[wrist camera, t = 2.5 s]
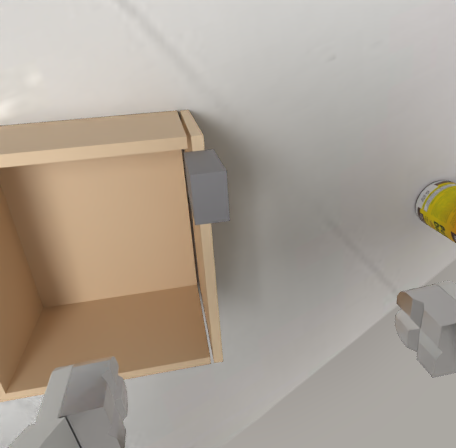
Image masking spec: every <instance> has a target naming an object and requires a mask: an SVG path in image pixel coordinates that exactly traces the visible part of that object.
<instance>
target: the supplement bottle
mask: <svg viewBox="0 0 456 448" xmlns="http://www.w3.org/2000/svg"><path fill="white" fill-rule="evenodd" d="M416 213H417V216H418V217H419V219H420V220H421V221H423V222H424V223H426V224H427V225H429V226H430V227H432V228H433V229H435V230H436V231H438V232H440V233H441V234H443V235H444V236H446V237H447V238H449V239H450V240H452V241H454V242H455V243H456V184H455V183H453V182H450V181H437V182H434V183H432V184H430V185H429V186H428V187H426V188H425V189H424V190H423V191H422V193H421V194H420V196H419V197H418V200H417V203H416Z"/></svg>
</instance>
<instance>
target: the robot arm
mask: <svg viewBox="0 0 456 448" xmlns="http://www.w3.org/2000/svg"><path fill="white" fill-rule="evenodd" d="M397 304H398V305H399V307H400V308H401V309H400V310H399V311H398V313H397V314H396V315H395V327H396V331H397V334H398V336H399V338H400V339H401V341H402V342H403V343H404V345H405V346H406V347H407V348H409V349H411V350H414V351H416V352H417V360H418V361H419V362H420V364H421V365H422V366H423V367H424V368H425V369H426V371H427V372H428V373H429V374H430V375H431V377H432V378H434V377H439V376H443V375H448V374H452V373H456V283H455V282H453V281H450V280H447V281H443V282H439V283H435V284H432V285H428V286H423V287H419V288H414V289H410V290H406V291H402V292H400V293H399V294H398V296H397ZM118 369H119V365H118V363H117V360H116V358H115V357H113V356H111V357H106V358H101V359H96V360H91V361H86V362H81V363H76V364H73V365H68V366H62V367H57V368H55V369H54V371H53V372H52V373H51V376H50V379H49V382H48V385H47V388H46V391H45V394H44V397H43V400H42V403H41V407H40V410H39V413H38V416H37V419H36V422H35V424H33V425H29V426H28V427H27V428H26V429H25V430H24V431H23V432H22V433H21V434H20V435H19V436H18V437H17V438H16V439H15V440H14V441H13V442H12V444H11V445H10V446H9V447H8V448H124V447H125V436H126V429H125V427H124V424H123V420H124V418H125V417H126V416H127V411H128V399H127V390H126V385H125V382H124V379H123V378H122V377H121V376H119V375H118Z"/></svg>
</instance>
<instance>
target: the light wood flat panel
mask: <svg viewBox="0 0 456 448" xmlns="http://www.w3.org/2000/svg"><path fill="white" fill-rule="evenodd" d="M180 113H181V122H182V126H183V129H184V131H185V134H186V137H187V146H188V149H185V152H184V161H185V170H186V179H187V187H188V196H189V200H190V204H191V212H192V221H193V230H194V239H195V248H196V257H197V266H198V275H199V284H200V290H201V296H202V301H203V306H204V312H205V317H206V322H207V328H208V333H209V338H210V343H211V349H212V354H213V359H214V363H218V362H223V354H222V343H221V331H220V320H219V309H218V297H217V286H216V274H215V263H214V251H213V240H212V229H211V223H217V222H225V221H230V217H229V201H228V185H227V171H226V169H225V167H224V166H223V164H222V162H221V161H220V159H219V157H218V156H217V154H216V152H215V151H214V149H211V150H205V148H204V137H203V134H202V132H201V130H200V128H199V127H198V125H197V123H196V122H195V120H194V118H193V116H192V115H191V113H190V111H189V110H183V111H180Z"/></svg>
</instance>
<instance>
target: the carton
mask: <svg viewBox="0 0 456 448" xmlns="http://www.w3.org/2000/svg"><path fill="white" fill-rule="evenodd" d="M182 149H188V146H187V137H186V134H185V131H184V129H183V126H182V123H181V120H180V118H179V115H178V112H177V111H166V112H154V113H143V114H131V115H120V116H108V117H97V118H85V119H74V120H62V121H50V122H39V123H27V124H16V125H4V126H0V402H4V401H9V400H15V399H20V398H26V397H31V396H37V395H42V394H45V391H46V388H47V385H48V382H49V379H50V376H51V373H52V372H53V371H54V369H55V368H57V367H62V366H68V365H73V364H76V363H81V362H86V361H91V360H96V359H101V358H106V357H111V356H113V357H115V358H116V360H117V363H118V365H119V369H118V375H119V376H121V377H122V378H123V379H130V378H135V377H141V376H146V375H152V374H157V373H163V372H168V371H174V370H179V369H185V368H190V367H196V366H201V365H207V364H211V360H210V353H209V348H208V342H207V337H206V331H205V326H204V320H203V314H202V309H201V303H200V298H199V292H198V286H197V279H196V270H195V261H194V253H193V244H192V235H191V227H190V218H189V209H188V201H187V192H186V183H185V174H184V166H183V157H182Z"/></svg>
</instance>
